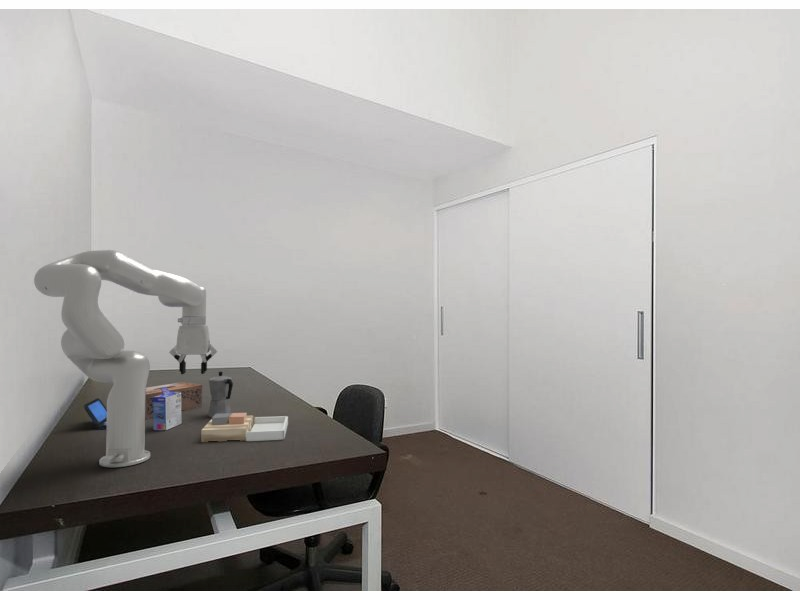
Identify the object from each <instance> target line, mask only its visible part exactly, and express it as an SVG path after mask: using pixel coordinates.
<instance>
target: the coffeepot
mask: <svg viewBox="0 0 800 600" xmlns="http://www.w3.org/2000/svg"><path fill="white" fill-rule="evenodd" d="M223 374H224V373H223V371H218V375H217V376H214V377H211V378H208V384H209V392H210V398H211V400H210V403H209V404H210V405H209V409H208V417H209V418H211V419H212V417H213V416H214V415H215V414H222V413H231V414H232V413H233V412H232V408H231V403H230V399H231V396H232V395H231V394H232V390H233V387H234V386H233V385H234V382H233V378H232V377H230V376H226V375H223Z"/></svg>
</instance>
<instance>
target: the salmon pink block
mask: <svg viewBox="0 0 800 600" xmlns="http://www.w3.org/2000/svg"><path fill="white" fill-rule="evenodd" d="M231 413H232V414H231V415H230V416H229V424H244V423H245V421H246V420H247V416H248V415H247V414H248V412H231Z"/></svg>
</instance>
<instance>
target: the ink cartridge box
mask: <svg viewBox="0 0 800 600" xmlns="http://www.w3.org/2000/svg"><path fill="white" fill-rule="evenodd" d="M165 389H166V390H167V391H165V392H164V391H163V390H165ZM161 391H162V393H163V394H161V395H158V396H155V397H153V418H152V419H153V420H152V422H153V425H152V427H153V428H152V429H153V431H164V430H165V431H168V430H170V429H172V428H174V427H177V426H179V425H181V424H182V411H181V392H169V390H168V388H167V387H165V388H161Z"/></svg>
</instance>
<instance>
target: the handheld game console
mask: <svg viewBox="0 0 800 600" xmlns="http://www.w3.org/2000/svg"><path fill="white" fill-rule="evenodd" d="M83 409H84V410H85V412H86V413H87V415H88V416H89V418H90V419H91V421H93V423H94V424H95V430H107V406H105V405H104V403H103V401H102V400H101V399H100V398H95V399H93V400H91V401H89V402H87V403H85V404H84V405H83Z"/></svg>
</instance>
